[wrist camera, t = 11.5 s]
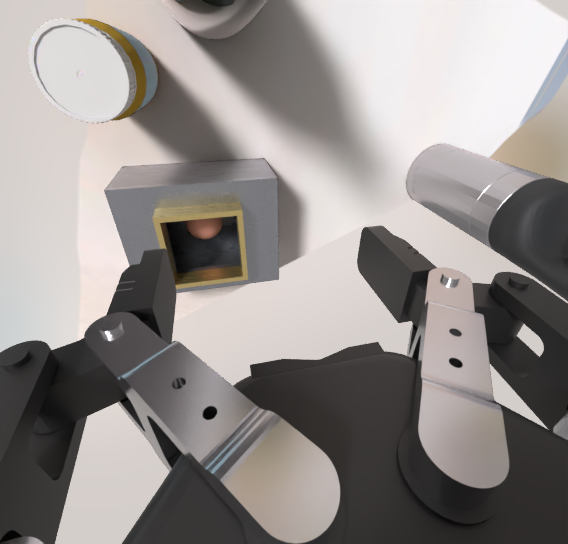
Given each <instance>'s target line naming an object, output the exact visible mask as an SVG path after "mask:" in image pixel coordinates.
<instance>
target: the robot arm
mask: <svg viewBox="0 0 568 544" xmlns="http://www.w3.org/2000/svg"><path fill="white" fill-rule="evenodd" d="M406 185H407V191H408V193H409V195H410V196H411V198H413V199H414V200H415V201H417V202H418V203H420V204H422V205H423V206H425V207H426V208H428V209H429V210H431V211H432V212H434V213H436V214H437V215H439V216H440V217H442V218H443V219H445V220H447V221H448V222H450V223H451V224H453V225H455V226H456V227H458V228H459V229H461V230H463V231H464V232H466V233H467V234H469V235H470V236H472V237H474V238H475V239H477V240H479V241H480V242H482V243H483V244H485V245H487V246H488V247H490V248H491V249H493V250H494V251H496V252H497V253H499V254H501V255H502V256H504V257H505V258H507V259H508V260H510V261H511V262H512V263H514V264H516V265H517V266H519V267H520V268H522V269H523V270H525V271H526V272H528V273H529V274H531V275H532V276H534V277H535V278H537V279H538V280H539V281H541V282H542V283H544V284H545V285H547V286H548V287H549V288H550V289H552V290H553V291H555V292H556V293H557V294H559V295H560V296H561V297H563V298H564V299H565V300H567V301H568V183H566V182H563V181H559V180H556V179H553V178H550V177H547V176H544V175H540V174H537V173H534V172H531V171H528V170H524V169H521V168H518V167H515V166H512V165H509V164H506V163H503V162H500V161H497V160H494V159H490V158H488V157H485V156H481V155H478V154H475V153H472V152H469V151H466V150H463V149H460V148H457V147H454V146H451V145H447V144H438V145H434V146H432V147H430V148H428V149H426V150H425V151H424V152H422V153H421V154H420V155H419V156H418V157H417V158H416V160H415V161H414V162H413V164H412V166H411V168H410V170H409V172H408V175H407V182H406ZM357 263H358V269H359V271H360V273H361V275H362V276H363V277H364V279H365V280H366V281H367V282H368V284H369V285H370V286H371V288H372V289H373V290H374V292H375V293H376V294H377V296H378V297H379V298H380V299H381V301H382V302H383V303H384V305H385V306H386V307H387V309H388V310H389V311H390V313H391V314H392V315H393V316H394V318H395V319H396V320H397V322H398V323H402V322H408V321H412V322H413V325H412V328H411V332H410V338H409V344H408V351H407V356H405V355H402V354H398V353H393V352H384V351H383V349H382V348H381V346H380V345H379V343H378V342H375V343H370V344H364V345H359V346H353V347H348V348H346V349H343V350H341V351H339V352H337V353H334V354H332V355H330V356H328V357H325V358H323V359H320V360H298V359H281V360H275V361H270V362H264V363H259V364H253V365H250V368H251V376H249V377H247V378H245V379H243V380H241V381H240V382H238V383H236V384H235V385H234V386H232V385H231V384H230V383H229V382H227V381H226V380H225V379H224V378H223V377H221V376H220V375H219V374H218V373H217V372H215V371H214V370H213V369H212V368H210V367H209V366H208V365H207V364H206V363H204V362H203V361H202V360H201V359H200V358H198V357H197V356H196V355H195V354H193V353H192V352H191V351H190V350H189V349H187V348H186V347H185V346H184V345H183V344H181V343H180V342H178V341H174V342H172V333H173V323H174V314H175V304H176V286H175V281H174V277H173V273H172V269H171V265H170V261H169V257H168V253H167V250H166V249H165V248H162V249H153V250H145V251H144V252H143V256H142V259H141V262H140V264H135V265H131V266H129V267H128V268H127V269H126V270H125V271H124V272H123V273H122V275H121V278H120V281H119V284H118V286H117V288H116V292H115V294H114V296H113V299H112V302H111V304H110V307H109V310H108V312H107V315H106V316H104V317H102V318H100V319H98V320H96V321H95V322H94V323H92V324H91V325H90V326H89V327H88V329H87V330H86V332H85V335H84V338H83V339H81V340H79V341H77V342H74V343H71V344H69V345H66V346H63V347H60V348H57V349H54V350H51V349H50V347H49V346H48V345H47V343H45V342H42V341H27V342H23V343H20V344H17V345H14V346H12V347H10V348H8V349H6V350H4V351H2V352H1V353H0V544H55V540H56V536H57V532H58V528H59V524H60V520H61V517H62V513H63V509H64V505H65V501H66V497H67V493H68V489H69V485H70V481H71V477H72V474H73V469H74V466H75V462H76V458H77V454H78V450H79V446H80V442H81V438H82V434H83V430H84V427H85V423H86V419H87V416H88V415H90V414H93V413H95V412H97V411H99V410H102V409H104V408H106V407H108V406H110V405H112V404H114V403H117V402H118V404H119V405H120V406H121V408H122V409H123V410H124V411H125V412H126V414H127V415H128V416H129V417H130V419H131V420H132V421H133V422H134V424H135V425H136V426H137V427H138V429H139V430H140V431H141V432H142V434H143V435H144V436H145V437H146V439H147V440H148V441H149V442H150V444H151V445H152V447H153V448H154V450H155V452H156V453H157V455H158V456H159V458H160V459H161V461H162V462H163V464H164V465H165V466H166V467H167V469H168V470H169V471H170V473H169V474H168V476H167V477H166V479H165V480H164V482H163V483H162V485H161V486H160V488H159V489H158V491H157V492H156V494H155V495H154V497H153V498H152V500H151V501H150V503H149V504H148V505H147V507H146V509H145V510H144V512H143V513H142V514H141V516H140V517H139V519H138V521H137V522H136V523H135V525H134V526H133V528H132V529H131V531H130V532H129V534H128V535H127V537H126V538H125V540H124V541H123V543H122V544H568V303H566V302H565V301H563V300H562V299H560V298H559V297H557V296H556V295H555V294H553V293H551V292H550V291H549V290H547V289H546V288H545V287H543V286H542V285H540V284H539V283H537V282H536V281H534V280H533V279H530V278H529V277H526V276H524V275H521V274H517V273H511V272H501V273H498V274H496V275H495V277H494V279H493V281H492V283H491V284H481V283H472V281H471V280H470V278H468V277H467V276H466V275H465V274H463V273H461V272H459V271H456V270H453V269H449V268H437V267H436V266H434V265H433V264H432V263H431V262H430V261H428V260H427V259H426V258H425V257H424V256H423V255H421V254H419V252H418V251H417V250H416V249H414V248H413V247H412V246H411V245H410V244H409V243H408V242H406V241H405V240H403V239H401V238H399V237H397V236H394V235H393V234H391V233H390V232H389V231H388V230H387V229H386V228H385V227H383V226H373V227H365V228H363V230H362V233H361V239H360V247H359V252H358V259H357ZM523 324H525V325H526V326H527V327H529V328H530V329H531V330H532V331H533V332H535V333H536V334H537V335H538V336H539V337H540V338H541V340H542V342H543V344H544V351H543V353H542V355H541V356H540V357H539V356H537V355H536V354H535V353H534V352H533V351H532V350H531V349H530V348H529V347H528V346H527V345H526V344H525V343H524V342H522V341H521V340H520V339H519V338H518V337H517V334H518V332H519V331H520V329H521V327H522V326H523ZM171 342H172V343H171ZM490 364H491V365H492V366H493V367H494V368H495V370H496V371H497V372H498V373H499V374H500V375H501V376H502V377H503V379H504V380H505V381H506V382H507V383H508V384H509V385H510V386H511V387H512V389H513V390H514V391H515V392H516V393H517V394H518V395H519V397H520V398H521V399H522V400H523V401H524V402H525V403H526V404H527V406H528V407H529V408H530V409H531V410H532V411H533V412H534V413H535V415H536V416H537V417H538V418H539V419H540V420H541V421H542V422H543V423H544V425H545V426H546V427H547V428H548V429H549V430H548V429H546V428H544V427H542V426H540V425H538V424H537V423H535V422H533V421H531V420H529V419H527V418H525V417H523V416H521V415H520V414H518V413H516V412H514V411H512V410H510V409H508V408H507V407H505V406H503V405H501V404H499V403H497V402H496V401H495V400H494V396H493V388H492V380H491V372H490Z"/></svg>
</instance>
